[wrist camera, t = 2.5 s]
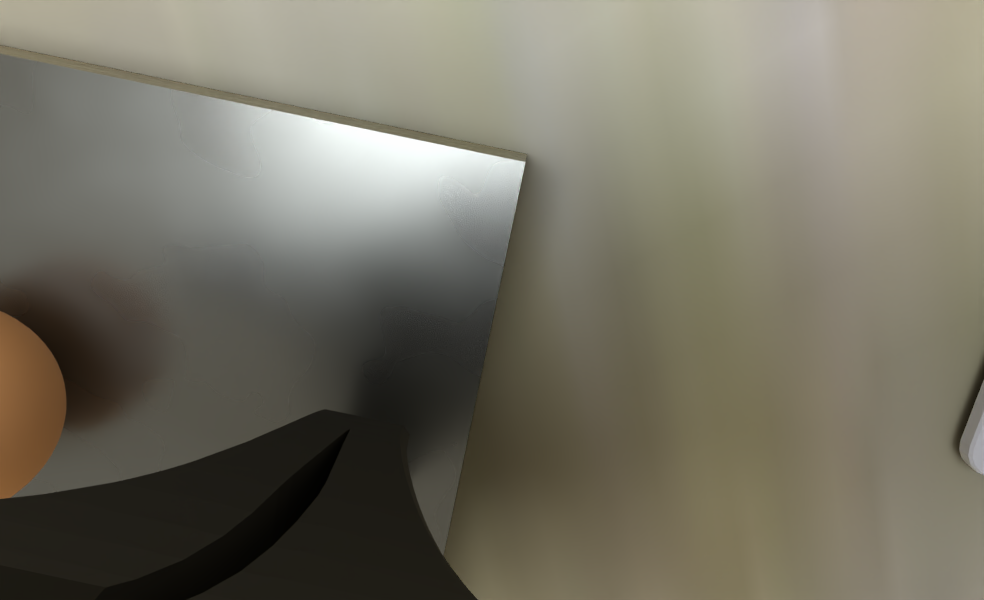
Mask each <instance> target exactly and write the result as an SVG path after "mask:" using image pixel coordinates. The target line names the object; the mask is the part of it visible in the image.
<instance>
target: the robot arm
mask: <svg viewBox="0 0 984 600" xmlns="http://www.w3.org/2000/svg"><path fill="white" fill-rule="evenodd" d="M409 435H410V434H409V433H408V431H407V430H406V428H405V426H404V425H399V424H394V423H389V422H385V421H380V420H375V419H370V418H365V417H361V416H356V415H351V414H346V413H341V412H337V411H332V410H327V409H324V410H320V411H317V412H314V413H312V414H309V415H307V416H305V417H302V418H300V419H298V420H296V421H293V422H291V423H289V424H287V425H284V426H282V427H280V428H277V429H275V430H273V431H270V432H268V433H266V434H263V435H261V436H259V437H256V438H254V439H252V440H249V441H247V442H245V443H242V444H239V445H236V446H234V447H231V448H228V449H226V450H223V451H220V452H217V453H215V454H212V455H209V456H206V457H204V458H201V459H198V460H196V461H193V462H189V463H186V464H183V465H180V466H176V467H173V468H170V469H166V470H163V471H159V472H155V473H151V474H147V475H143V476H139V477H135V478H131V479H126V480H122V481H117V482H112V483H106V484H100V485H95V486H89V487H83V488H77V489H71V490H65V491H59V492H53V493H48V494H40V495H32V496H22V497H13V498H4V499H0V600H478V599H477V598H476V597H475V596H474V595H473V594H472V593H471V592H470V591H469V590H468V588H467V587H466V586H465V585H464V584H463V582H462V581H461V580H460V579H459V577H458V576H457V575H456V573H455V572H454V571H453V570H452V568H451V567H450V565H449V564H448V562H447V561H446V559H445V558H444V556H443V555H442V553H441V551H440V549H439V547H438V546H437V544H436V542H435V540H434V538H433V536H432V534H431V532H430V530H429V528H428V526H427V524H426V521H425V519H424V517H423V514H422V511H421V509H420V506H419V503H418V501H417V498H416V494H415V491H414V488H413V484H412V480H411V476H410V472H409V466H408V460H407V446H408V440H409ZM959 450H960V454H961V457H962V459H963V460H964V461H965V462H966V463H967V464H968V465H969V466H970V467H971V468H972V469H974V470H975V471H976V472H977V473H980V474H982V475H984V380H983V383H982V386H981V388H980V391H979V393H978V396H977V399H976V401H975V404H974V406H973V409H972V412H971V414H970V417H969V419H968V422H967V425H966V427H965V430H964V432H963V435H962V438H961V441H960V447H959Z"/></svg>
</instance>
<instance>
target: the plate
mask: <svg viewBox="0 0 984 600" xmlns="http://www.w3.org/2000/svg"><path fill="white" fill-rule="evenodd" d="M526 157H527V154H524V153H519V152H514V151H510V150H505V149H500V148H495V147H490V146H485V145H481V144H476V143H471V142H466V141H461V140H456V139H452V138H447V137H442V136H437V135H432V134H427V133H423V132H418V131H413V130H408V129H403V128H398V127H394V126H389V125H384V124H379V123H374V122H369V121H365V120H360V119H355V118H350V117H345V116H340V115H336V114H331V113H326V112H321V111H316V110H311V109H306V108H302V107H297V106H292V105H287V104H282V103H277V102H273V101H268V100H263V99H258V98H253V97H248V96H244V95H239V94H234V93H229V92H224V91H219V90H215V89H210V88H205V87H200V86H195V85H190V84H186V83H181V82H176V81H171V80H166V79H161V78H157V77H152V76H147V75H142V74H137V73H132V72H128V71H123V70H118V69H113V68H108V67H103V66H99V65H94V64H89V63H84V62H79V61H74V60H69V59H65V58H60V57H55V56H50V55H45V54H40V53H36V52H31V51H26V50H21V49H16V48H11V47H7V46H2V45H0V311H2V312H4V313H6V314H8V315H10V316H11V317H13V318H15V319H17V320H18V321H20V322H21V323H22V324H24V325H25V326H27V327H28V328H30V329H31V330H32V331H33V332H34V333H35V334H36V335H38V336H39V338H40V339H41V340H42V341H43V342H44V343H45V344H46V346H47V347H48V348H49V350H50V351H51V353H52V354H53V356H54V358H55V359H56V361H57V363H58V365H59V368H60V370H61V373H62V376H63V380H64V384H65V391H66V416H65V422H64V426H63V429H62V433H61V436H60V439H59V441H58V443H57V445H56V447H55V449H54V451H53V453H52V455H51V456H50V458H49V459H48V461H47V462H46V464H45V465H44V467H43V468H42V469H41V470H40V471H39V473H38V474H37V475H36V476H35V477H34V478H33V479H32V480H31V481H30V482H29V483H28V484H27V485H26V486H24V487H23V488H22V489H21V490H20V491H18V492H17V493H16V494H15V495H13V496H12V497H10V498H13V497H22V496H32V495H40V494H48V493H53V492H59V491H65V490H71V489H77V488H83V487H89V486H95V485H100V484H106V483H112V482H117V481H122V480H126V479H131V478H135V477H139V476H143V475H147V474H151V473H155V472H159V471H163V470H166V469H170V468H173V467H176V466H180V465H183V464H186V463H189V462H193V461H196V460H198V459H201V458H204V457H206V456H209V455H212V454H215V453H217V452H220V451H223V450H226V449H228V448H231V447H234V446H236V445H239V444H242V443H245V442H247V441H249V440H252V439H254V438H256V437H259V436H261V435H263V434H266V433H268V432H270V431H273V430H275V429H277V428H280V427H282V426H284V425H287V424H289V423H291V422H293V421H296V420H298V419H300V418H302V417H305V416H307V415H309V414H312V413H314V412H317V411H320V410H324V409H327V410H332V411H337V412H341V413H346V414H351V415H356V416H361V417H365V418H370V419H375V420H380V421H385V422H389V423H394V424H399V425H404V426H405V428H406V430H407V431H408V433H409V434H410V435H409V440H408V446H407V460H408V466H409V472H410V476H411V480H412V484H413V488H414V491H415V494H416V498H417V501H418V503H419V506H420V509H421V511H422V514H423V517H424V519H425V521H426V524H427V526H428V528H429V530H430V532H431V534H432V536H433V538H434V540H435V542H436V544H437V546H438V547H439V549H440V551H441V553H442V555H443V556H444V551H445V547H446V542H447V537H448V532H449V527H450V523H451V518H452V513H453V508H454V503H455V499H456V494H457V489H458V484H459V479H460V475H461V470H462V465H463V460H464V455H465V450H466V446H467V441H468V436H469V431H470V426H471V422H472V417H473V412H474V407H475V402H476V398H477V393H478V388H479V383H480V378H481V374H482V369H483V364H484V359H485V354H486V350H487V345H488V340H489V335H490V330H491V325H492V321H493V316H494V311H495V306H496V301H497V297H498V292H499V287H500V282H501V277H502V273H503V268H504V263H505V258H506V253H507V249H508V244H509V239H510V234H511V229H512V225H513V220H514V215H515V210H516V205H517V201H518V196H519V191H520V186H521V181H522V176H523V172H524V167H525V162H526Z"/></svg>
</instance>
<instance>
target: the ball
mask: <svg viewBox="0 0 984 600" xmlns="http://www.w3.org/2000/svg"><path fill="white" fill-rule="evenodd" d="M65 416H66V391H65V384H64V380H63V376H62V373H61V370H60V368H59V365H58V363H57V361H56V359H55V358H54V356H53V354H52V353H51V351H50V350H49V348H48V347H47V346H46V344H45V343H44V342H43V341H42V340H41V339H40V338H39V336H38V335H36V334H35V333H34V332H33V331H32V330H31V329H30V328H28V327H27V326H25V325H24V324H22V323H21V322H20V321H18V320H17V319H15V318H13V317H11V316H10V315H8V314H6V313H4V312H2V311H0V499H4V498H10V497H12V496H13V495H15V494H16V493H17V492H18V491H20V490H21V489H22V488H23V487H24V486H26V485H27V484H28V483H29V482H30V481H31V480H32V479H33V478H34V477H35V476H36V475H37V474H38V473H39V471H40V470H41V469H42V468H43V467H44V465H45V464H46V462H47V461H48V459H49V458H50V456H51V455H52V453H53V451H54V449H55V447H56V445H57V443H58V441H59V439H60V436H61V433H62V429H63V426H64V422H65Z"/></svg>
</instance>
